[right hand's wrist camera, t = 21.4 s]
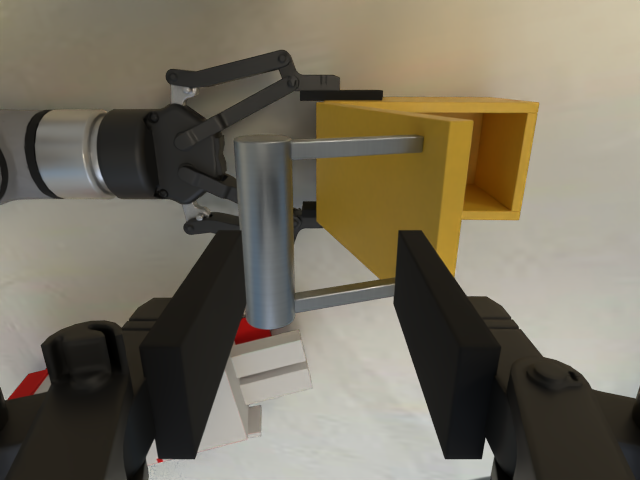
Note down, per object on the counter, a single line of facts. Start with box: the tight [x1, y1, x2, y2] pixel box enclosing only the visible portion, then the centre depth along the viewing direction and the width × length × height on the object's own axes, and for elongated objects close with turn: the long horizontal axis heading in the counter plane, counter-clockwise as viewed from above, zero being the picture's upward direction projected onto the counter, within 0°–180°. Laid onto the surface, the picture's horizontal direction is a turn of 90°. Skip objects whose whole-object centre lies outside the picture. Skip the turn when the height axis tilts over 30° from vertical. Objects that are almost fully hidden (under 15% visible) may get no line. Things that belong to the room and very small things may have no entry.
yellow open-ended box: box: [324, 97, 539, 220], centre depth 38 cm, size 16×9×10 cm, turn 90°
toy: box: [7, 317, 313, 466], centre depth 47 cm, size 12×13×30 cm
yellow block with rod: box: [234, 102, 473, 330], centre depth 24 cm, size 16×9×9 cm
